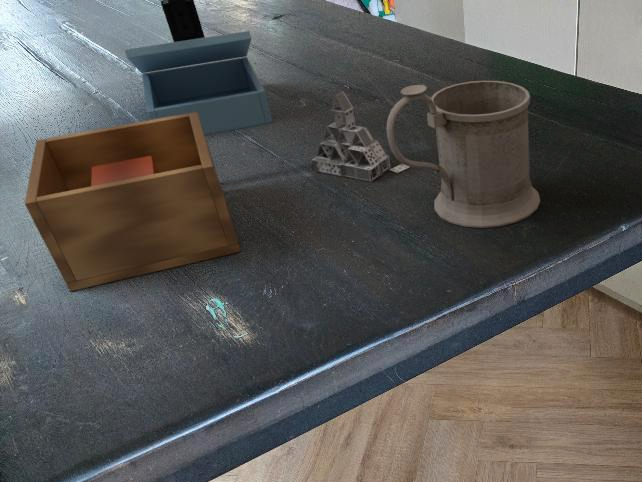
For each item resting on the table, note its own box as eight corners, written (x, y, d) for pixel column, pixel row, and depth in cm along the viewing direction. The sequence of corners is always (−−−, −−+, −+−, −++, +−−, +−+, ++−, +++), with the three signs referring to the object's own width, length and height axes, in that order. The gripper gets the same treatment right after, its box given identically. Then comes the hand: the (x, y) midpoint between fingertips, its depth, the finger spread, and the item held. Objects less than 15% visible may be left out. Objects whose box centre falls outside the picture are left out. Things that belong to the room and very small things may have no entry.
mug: (493, 170, 73) (485, 43, 65) (561, 201, 67) (561, 66, 59) (372, 219, 66) (347, 84, 58) (437, 259, 60) (419, 115, 52)
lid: (251, 38, 78) (249, 30, 78) (126, 58, 74) (123, 49, 74) (246, 56, 92) (245, 49, 91) (141, 73, 88) (138, 66, 88)
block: (114, 242, 63) (90, 189, 60) (114, 218, 67) (91, 166, 63) (174, 229, 65) (154, 176, 61) (171, 206, 68) (151, 155, 65)
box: (274, 128, 84) (265, 91, 81) (160, 150, 81) (146, 111, 78) (256, 91, 94) (246, 56, 92) (154, 109, 91) (141, 73, 88)
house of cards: (430, 152, 77) (421, 77, 72) (384, 186, 71) (371, 107, 66) (361, 140, 80) (348, 68, 75) (312, 171, 75) (294, 96, 70)
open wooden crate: (70, 292, 59) (24, 203, 54) (74, 220, 68) (35, 140, 63) (240, 252, 63) (212, 165, 58) (222, 190, 72) (197, 111, 67)
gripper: (80, -172, 71) (150, 30, 83) (75, -165, 60) (156, 65, 72) (160, -179, 73) (217, 19, 85) (170, -173, 62) (233, 53, 74)
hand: (189, 40), depth 78 cm, fingers closed
